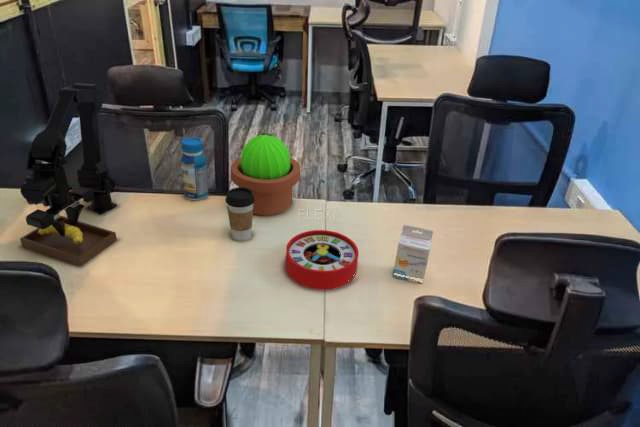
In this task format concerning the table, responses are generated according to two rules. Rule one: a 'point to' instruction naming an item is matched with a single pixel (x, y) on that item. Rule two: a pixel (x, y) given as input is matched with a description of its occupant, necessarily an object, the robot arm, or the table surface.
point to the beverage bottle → (194, 169)
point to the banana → (69, 232)
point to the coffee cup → (240, 212)
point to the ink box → (413, 253)
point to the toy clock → (321, 259)
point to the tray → (71, 243)
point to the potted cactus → (266, 174)
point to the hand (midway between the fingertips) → (67, 232)
